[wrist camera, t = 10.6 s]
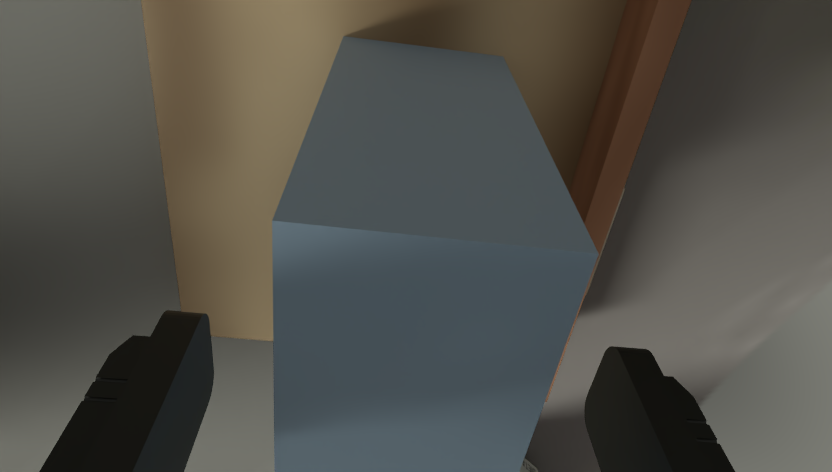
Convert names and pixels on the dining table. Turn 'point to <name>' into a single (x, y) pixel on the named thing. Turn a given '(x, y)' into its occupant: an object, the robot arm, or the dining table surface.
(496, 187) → the carton
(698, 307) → the dining table surface
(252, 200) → the wooden plank
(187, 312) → the robot arm
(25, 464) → the dining table surface
